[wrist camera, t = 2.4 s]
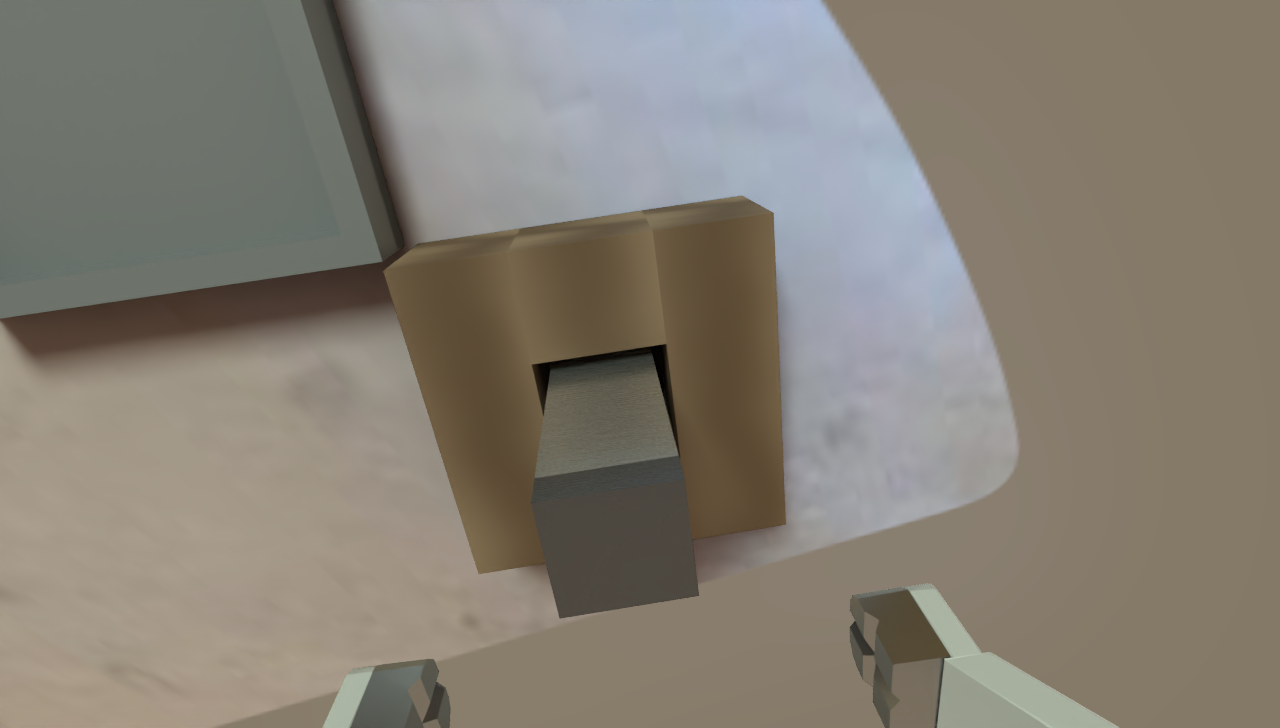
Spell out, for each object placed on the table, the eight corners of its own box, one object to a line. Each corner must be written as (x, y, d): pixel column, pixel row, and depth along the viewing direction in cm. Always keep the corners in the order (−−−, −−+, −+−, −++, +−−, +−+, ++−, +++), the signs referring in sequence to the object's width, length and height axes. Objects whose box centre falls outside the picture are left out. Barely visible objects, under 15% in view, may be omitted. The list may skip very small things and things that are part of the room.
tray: (-13, 307, 21) (-86, 331, 19) (-349, -246, 15) (-517, -309, 13) (404, 245, 21) (382, 261, 19) (237, -320, 15) (176, -395, 13)
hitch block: (493, 509, 26) (478, 574, 23) (418, 243, 21) (383, 271, 18) (758, 467, 26) (785, 524, 23) (742, 195, 22) (773, 213, 18)
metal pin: (571, 411, 25) (559, 618, 15) (555, 333, 23) (531, 503, 13) (653, 398, 25) (699, 595, 15) (643, 320, 23) (684, 479, 13)
